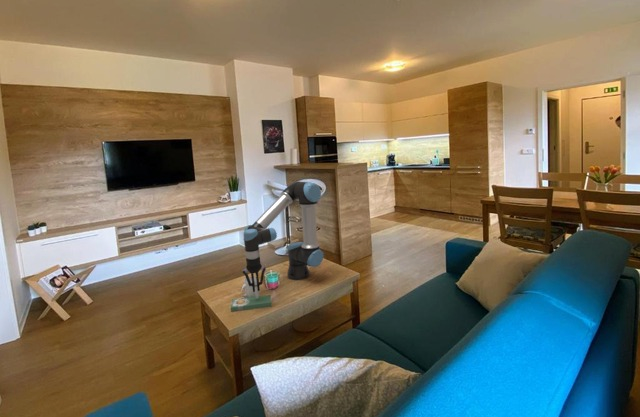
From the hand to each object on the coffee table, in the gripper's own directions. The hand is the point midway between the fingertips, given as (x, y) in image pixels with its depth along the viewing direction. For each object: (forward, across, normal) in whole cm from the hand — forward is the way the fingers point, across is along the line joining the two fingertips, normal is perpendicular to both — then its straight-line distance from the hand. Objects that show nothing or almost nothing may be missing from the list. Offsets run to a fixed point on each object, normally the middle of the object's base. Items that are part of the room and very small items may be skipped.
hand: (257, 296), depth 191 cm
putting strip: (+5, +3, 0) cm, 6 cm away
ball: (+3, +9, +1) cm, 10 cm away
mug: (+5, +4, -10) cm, 12 cm away
